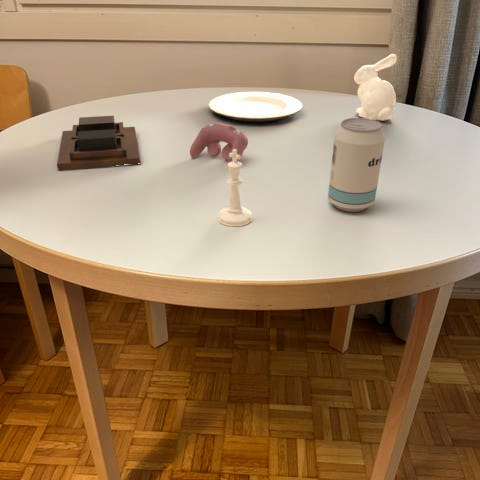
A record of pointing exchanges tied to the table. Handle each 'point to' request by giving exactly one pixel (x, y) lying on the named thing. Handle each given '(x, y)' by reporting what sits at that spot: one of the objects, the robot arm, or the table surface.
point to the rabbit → (375, 91)
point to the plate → (255, 106)
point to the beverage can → (356, 164)
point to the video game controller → (212, 138)
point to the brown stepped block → (98, 158)
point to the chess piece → (234, 197)
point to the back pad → (96, 140)
